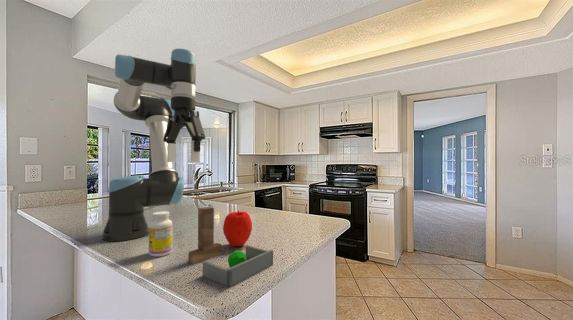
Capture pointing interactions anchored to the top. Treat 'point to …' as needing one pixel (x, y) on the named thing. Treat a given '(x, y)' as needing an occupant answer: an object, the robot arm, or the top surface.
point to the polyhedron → (236, 258)
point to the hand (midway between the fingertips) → (182, 162)
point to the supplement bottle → (160, 235)
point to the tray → (239, 267)
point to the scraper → (205, 237)
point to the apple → (237, 228)
